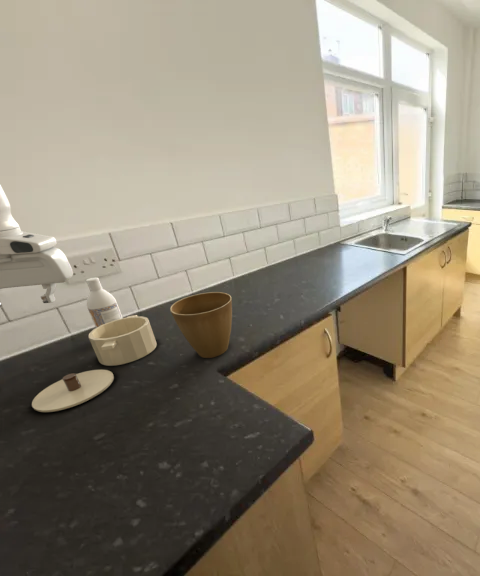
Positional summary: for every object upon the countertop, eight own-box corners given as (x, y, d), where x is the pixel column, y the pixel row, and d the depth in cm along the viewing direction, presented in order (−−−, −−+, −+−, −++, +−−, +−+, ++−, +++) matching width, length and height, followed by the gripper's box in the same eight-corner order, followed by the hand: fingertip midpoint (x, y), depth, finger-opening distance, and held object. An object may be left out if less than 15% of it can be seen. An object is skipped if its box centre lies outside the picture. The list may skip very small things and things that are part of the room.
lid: (17, 421, 69) (7, 404, 67) (56, 380, 82) (48, 365, 80) (99, 404, 74) (91, 388, 72) (124, 368, 87) (118, 353, 85)
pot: (85, 376, 83) (72, 349, 80) (115, 341, 100) (105, 317, 97) (145, 365, 88) (136, 338, 84) (164, 333, 104) (157, 309, 101)
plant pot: (183, 372, 84) (165, 319, 78) (188, 345, 97) (173, 297, 91) (243, 357, 90) (231, 306, 84) (241, 333, 102) (230, 288, 96)
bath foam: (102, 335, 104) (78, 278, 96) (128, 329, 107) (107, 273, 100) (100, 344, 98) (74, 284, 91) (128, 337, 102) (105, 279, 94)
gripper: (-92, 252, 59) (-54, 318, 64) (47, 243, 66) (72, 304, 71) (-62, 244, 65) (-29, 305, 70) (64, 236, 71) (86, 293, 76)
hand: (23, 304), depth 70 cm, fingers open, 8 cm apart
